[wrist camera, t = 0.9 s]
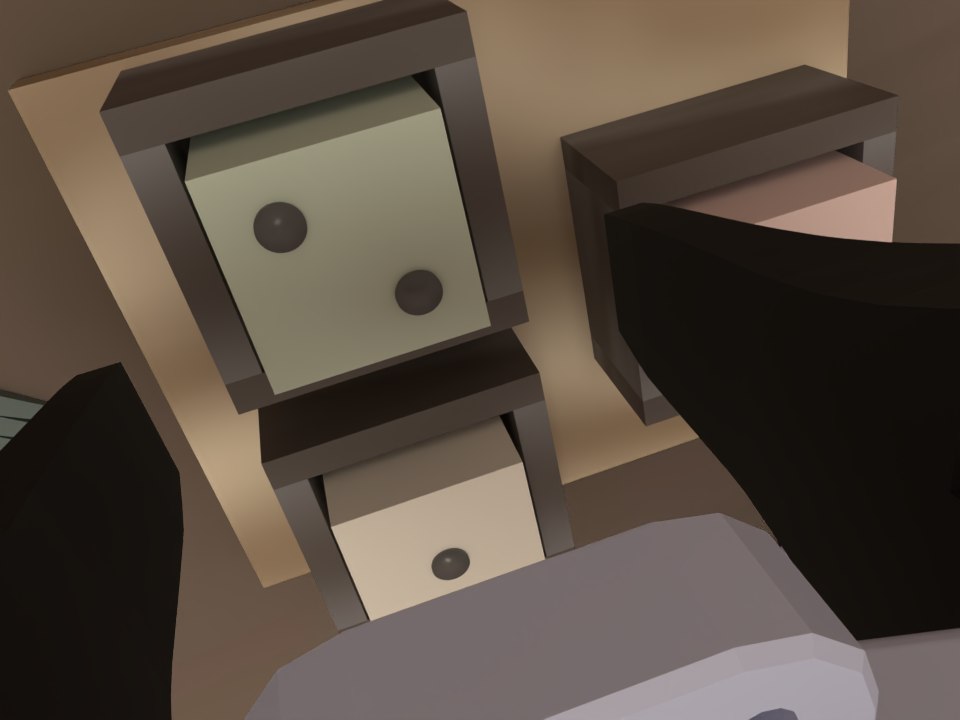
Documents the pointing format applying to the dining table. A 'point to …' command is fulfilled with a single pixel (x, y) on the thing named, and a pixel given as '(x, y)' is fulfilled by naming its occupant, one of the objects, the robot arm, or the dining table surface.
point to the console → (488, 209)
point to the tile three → (808, 199)
